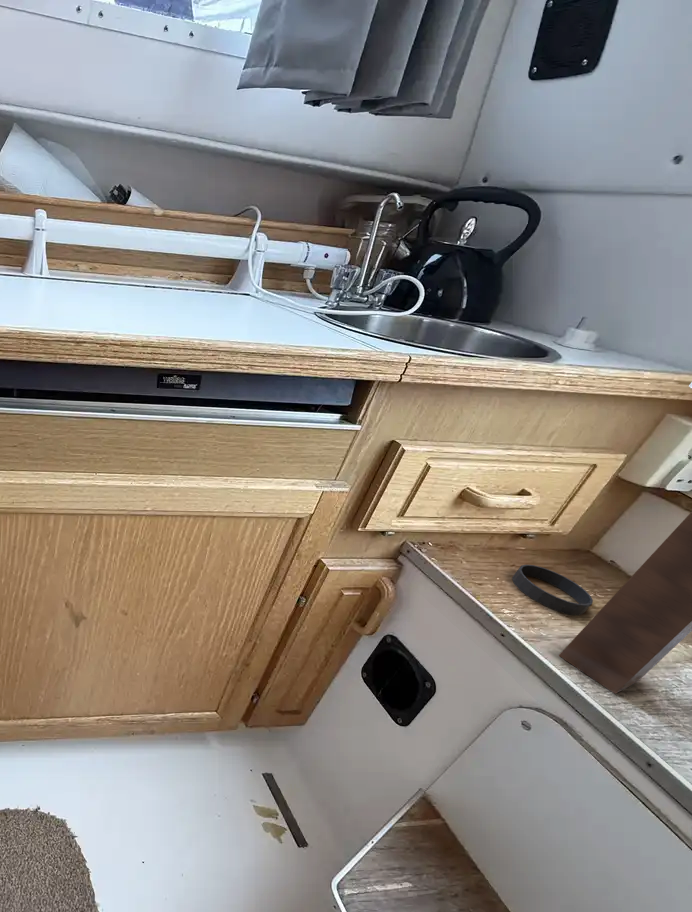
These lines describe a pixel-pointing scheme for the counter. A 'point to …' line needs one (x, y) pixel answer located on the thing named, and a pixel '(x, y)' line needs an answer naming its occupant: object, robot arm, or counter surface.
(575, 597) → the ring
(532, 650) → the counter surface
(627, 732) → the counter surface
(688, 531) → the stand
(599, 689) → the counter surface
